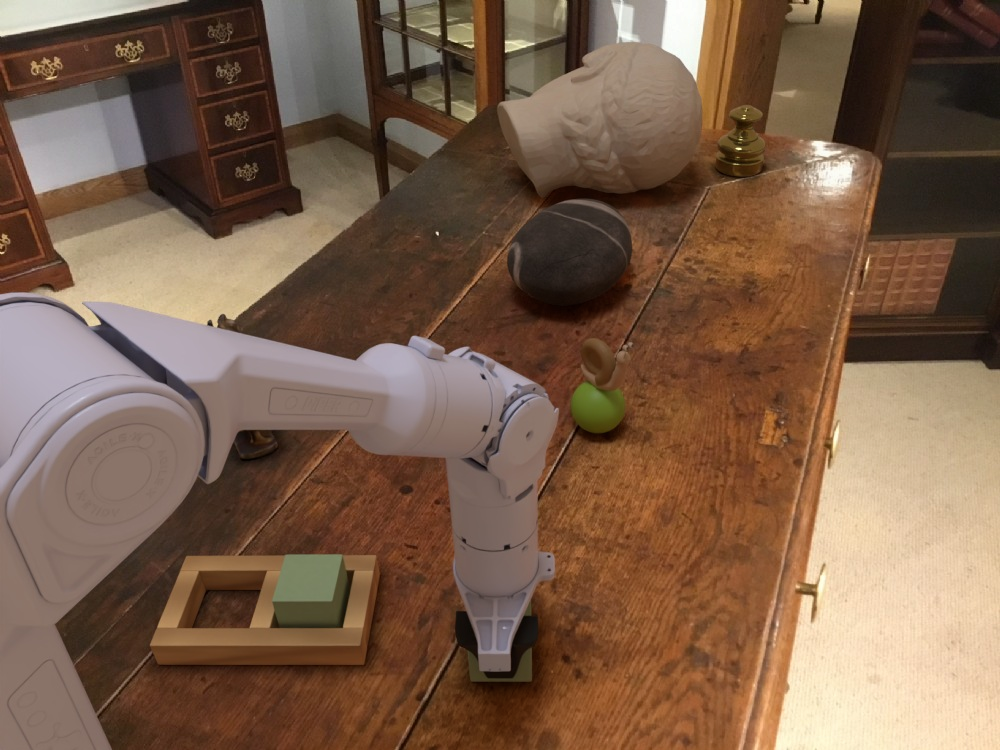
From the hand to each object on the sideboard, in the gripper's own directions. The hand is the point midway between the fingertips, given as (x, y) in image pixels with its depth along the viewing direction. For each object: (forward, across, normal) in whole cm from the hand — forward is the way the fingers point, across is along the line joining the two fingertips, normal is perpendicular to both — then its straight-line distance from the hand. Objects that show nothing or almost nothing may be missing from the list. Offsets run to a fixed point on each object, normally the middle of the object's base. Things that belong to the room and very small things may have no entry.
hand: (501, 644), depth 64 cm
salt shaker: (+2, +90, -36) cm, 97 cm away
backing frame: (+1, +4, +18) cm, 19 cm away
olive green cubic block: (+1, 0, 0) cm, 1 cm away
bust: (+2, +86, -13) cm, 87 cm away
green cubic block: (+1, +4, +15) cm, 15 cm away
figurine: (+2, +25, +25) cm, 35 cm away
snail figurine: (+2, +27, -9) cm, 28 cm away
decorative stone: (+2, +55, -8) cm, 55 cm away
